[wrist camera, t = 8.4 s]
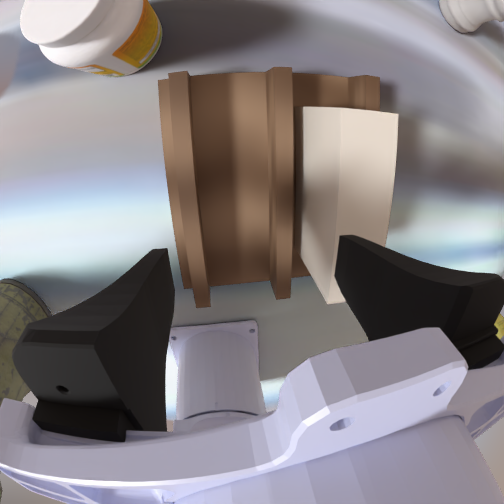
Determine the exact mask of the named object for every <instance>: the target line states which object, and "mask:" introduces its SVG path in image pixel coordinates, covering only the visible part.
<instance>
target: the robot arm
mask: <svg viewBox="0 0 504 504" xmlns="http://www.w3.org/2000/svg"><path fill="white" fill-rule="evenodd" d="M334 277H335V279H336V282H337V284H338V287H339V289H340V291H341V293H342V295H343V297H344V299H345V300H346V302H347V303H348V305H349V307H350V308H351V310H352V311H353V313H354V315H355V316H356V318H357V320H358V321H359V323H360V324H361V326H362V328H363V329H364V331H365V333H366V335H367V337H368V339H369V341H370V342H365V343H360V344H356V345H351V346H346V347H341V348H336V349H332V350H329V351H326V352H323V353H320V354H318V355H315V356H312V357H309V358H308V359H307V360H305V361H304V362H303V363H301V364H300V365H299V366H297V367H296V368H294V369H293V370H292V371H291V372H290V373H288V375H287V377H286V379H285V381H284V383H283V385H282V387H281V388H280V393H279V403H278V407H277V410H274V411H271V412H268V413H267V412H266V407H265V402H264V397H263V393H262V388H261V383H260V378H259V352H258V325H257V322H256V321H254V320H249V321H240V322H231V323H221V324H211V325H199V326H187V327H173V328H171V324H172V319H173V313H174V297H175V289H174V284H173V278H172V273H171V267H170V261H169V255H168V249H167V248H164V249H153V250H151V251H150V252H149V253H148V254H146V255H145V256H144V257H143V258H142V259H141V260H140V261H139V262H137V263H136V264H135V265H134V266H133V267H132V268H131V269H130V270H129V271H127V272H126V273H125V274H124V275H122V276H121V277H120V278H119V279H117V280H116V281H115V282H114V283H112V284H111V285H110V286H108V287H107V288H105V289H104V290H102V291H101V292H99V293H98V294H96V295H95V296H93V297H91V298H89V299H87V300H85V301H84V302H82V303H80V304H78V305H76V306H74V307H72V308H70V309H68V310H65V311H63V312H60V313H58V314H56V315H53V316H50V317H47V318H44V319H41V320H38V321H34V322H31V323H28V324H27V325H26V327H25V329H24V330H23V332H22V334H21V336H20V337H19V339H18V341H17V343H16V345H15V347H14V348H13V350H12V359H13V363H14V366H15V368H16V370H17V371H18V373H19V375H20V376H21V378H22V379H23V380H24V382H25V383H26V385H27V386H28V387H29V389H30V390H31V391H32V392H33V394H34V395H35V396H36V398H37V399H38V403H37V406H36V408H35V407H33V406H32V405H30V404H27V403H25V402H20V401H16V400H12V399H8V398H4V399H3V402H2V404H1V407H0V471H1V472H3V473H4V474H6V475H7V476H8V477H10V478H11V479H13V480H14V481H16V482H17V483H19V484H20V485H22V486H23V487H25V488H27V489H28V490H30V491H33V492H35V493H38V494H40V495H43V496H46V497H49V498H52V499H55V500H58V501H61V502H64V503H67V504H504V496H503V494H502V492H501V490H500V488H499V486H498V484H497V482H496V480H495V478H494V476H493V474H492V472H491V470H490V468H489V466H488V465H487V463H486V461H485V459H484V457H483V455H482V454H481V452H480V450H479V448H478V446H477V445H476V443H475V442H474V439H476V438H477V437H478V436H480V435H481V434H482V433H484V432H485V431H486V430H487V429H489V428H490V427H491V426H493V425H494V424H495V423H496V422H497V421H499V420H500V419H501V418H503V417H504V336H503V337H502V338H501V339H499V338H498V337H497V336H496V334H497V333H498V328H497V327H496V326H495V325H494V324H495V322H496V320H497V318H498V316H499V314H500V311H501V309H502V307H503V305H504V279H502V278H501V277H500V276H499V275H497V274H492V273H475V272H467V271H459V270H454V269H449V268H444V267H440V266H436V265H432V264H429V263H425V262H422V261H419V260H416V259H413V258H410V257H408V256H405V255H403V254H400V253H398V252H395V251H393V250H390V249H388V248H386V247H383V246H381V245H379V244H377V243H374V242H372V241H370V240H367V239H365V238H362V237H359V236H356V235H339V244H338V252H337V259H336V267H335V274H334ZM251 329H254V330H251ZM172 336H175V337H172ZM169 341H170V344H171V347H172V351H173V354H174V357H175V360H176V363H177V366H178V379H177V404H176V420H174V423H173V432H167V425H166V403H165V370H166V355H167V348H168V342H169Z"/></svg>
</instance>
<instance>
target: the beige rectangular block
mask: <svg viewBox="0 0 504 504" xmlns="http://www.w3.org/2000/svg"><path fill="white" fill-rule="evenodd" d="M295 127H296V206H295V248H296V250H297V252H298V253H299V255H300V257H301V259H302V260H303V262H304V264H305V266H306V267H307V269H308V271H309V273H310V274H311V276H312V278H313V280H314V281H315V283H316V285H317V287H318V289H319V290H320V292H321V294H322V296H323V297H324V299H325V301H326V303H327V305H329V304H335V303H341V302H346V300H345V299H344V297H343V295H342V293H341V291H340V289H339V287H338V284H337V282H336V279H335V277H334V274H335V267H336V259H337V252H338V244H339V235H356V236H359V237H362V238H365V239H367V240H370V241H372V242H374V243H377V244H379V245H381V246H383V247H385V244H386V238H387V232H388V226H389V219H390V212H391V204H392V196H393V187H394V178H395V167H396V154H397V137H398V114H394V113H387V112H379V111H371V110H361V109H350V108H335V107H295Z"/></svg>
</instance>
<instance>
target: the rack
mask: <svg viewBox="0 0 504 504" xmlns="http://www.w3.org/2000/svg"><path fill="white" fill-rule="evenodd" d="M168 75H169V79H164V80H158V89H159V105H160V118H161V130H162V141H163V151H164V160H165V169H166V178H167V186H168V193H169V201H170V208H171V215H172V222H173V228H174V235H175V241H176V247H177V253H178V259H179V264H180V270H181V275H182V281H183V286H184V289H188V288H193V293H194V298H195V304H196V308H203V307H211V304H210V286H220V285H230V284H240V283H250V282H259V281H268V280H270V282H271V285H272V288H273V291H274V294H275V297H276V300H278V299H286V298H290V293H291V278H294V277H303V276H311V274H310V273H309V271H308V269H307V267H306V266H305V264H304V262H303V260H302V259H301V257H300V255H299V253H298V252H297V250H296V248H295V206H296V127H295V107H335V108H350V109H361V110H371V111H379V112H380V77H375V76H369V75H362V76H355V77H339V76H330V75H319V74H305V73H292V67H273V68H271V69H270V70H268V71H267V72H246V73H222V74H208V75H197V76H190V75H189V73H188V72H187V71H182V72H174V73H168Z"/></svg>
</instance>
